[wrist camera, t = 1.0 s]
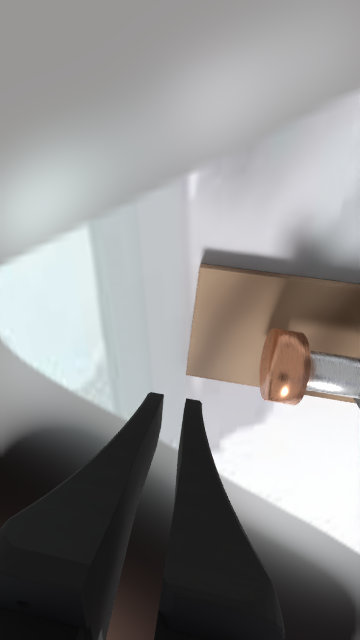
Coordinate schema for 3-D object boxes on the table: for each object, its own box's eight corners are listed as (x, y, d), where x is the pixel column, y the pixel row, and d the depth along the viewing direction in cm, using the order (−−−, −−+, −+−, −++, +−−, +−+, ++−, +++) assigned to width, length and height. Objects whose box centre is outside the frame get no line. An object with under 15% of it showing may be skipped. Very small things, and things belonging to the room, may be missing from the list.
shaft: (403, 335, 17) (458, 380, 13) (373, 389, 19) (413, 442, 15) (271, 316, 17) (285, 354, 13) (256, 370, 19) (265, 416, 15)
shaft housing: (516, 304, 17) (676, 369, 11) (439, 408, 21) (524, 497, 15) (200, 263, 18) (190, 300, 13) (187, 367, 23) (174, 432, 17)
